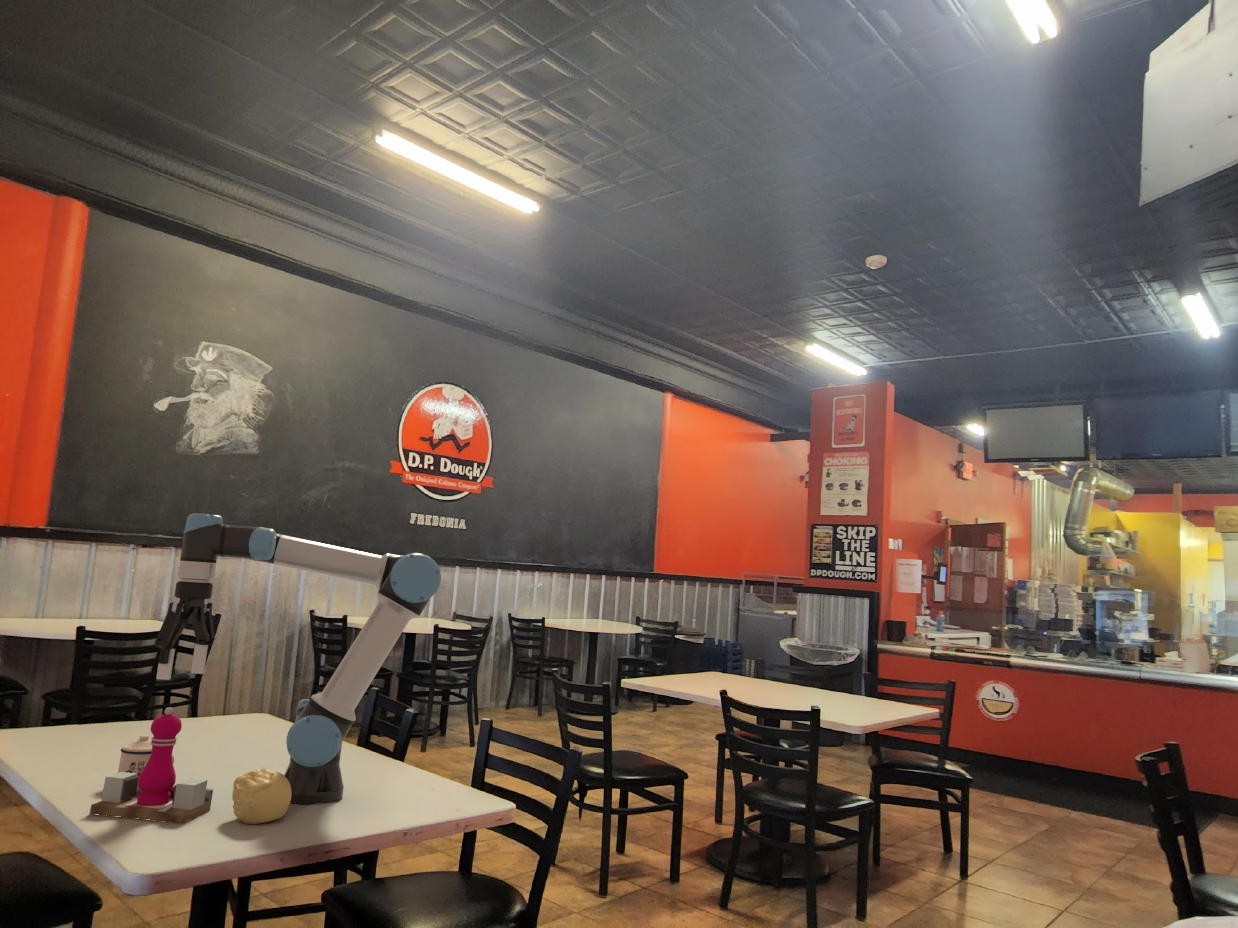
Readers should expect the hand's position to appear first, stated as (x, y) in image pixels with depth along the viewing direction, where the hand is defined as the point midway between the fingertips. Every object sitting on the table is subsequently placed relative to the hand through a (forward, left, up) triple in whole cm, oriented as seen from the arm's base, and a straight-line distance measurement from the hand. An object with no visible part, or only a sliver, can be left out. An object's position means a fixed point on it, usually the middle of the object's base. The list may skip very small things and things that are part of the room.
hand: (180, 676), depth 180 cm
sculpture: (-22, 0, -29) cm, 37 cm away
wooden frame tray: (+1, +2, -29) cm, 29 cm away
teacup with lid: (+16, -18, -29) cm, 38 cm away
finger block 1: (+8, +2, -27) cm, 28 cm away
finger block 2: (-7, +2, -27) cm, 28 cm away
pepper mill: (+1, +1, -27) cm, 27 cm away
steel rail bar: (+1, -3, -27) cm, 27 cm away
